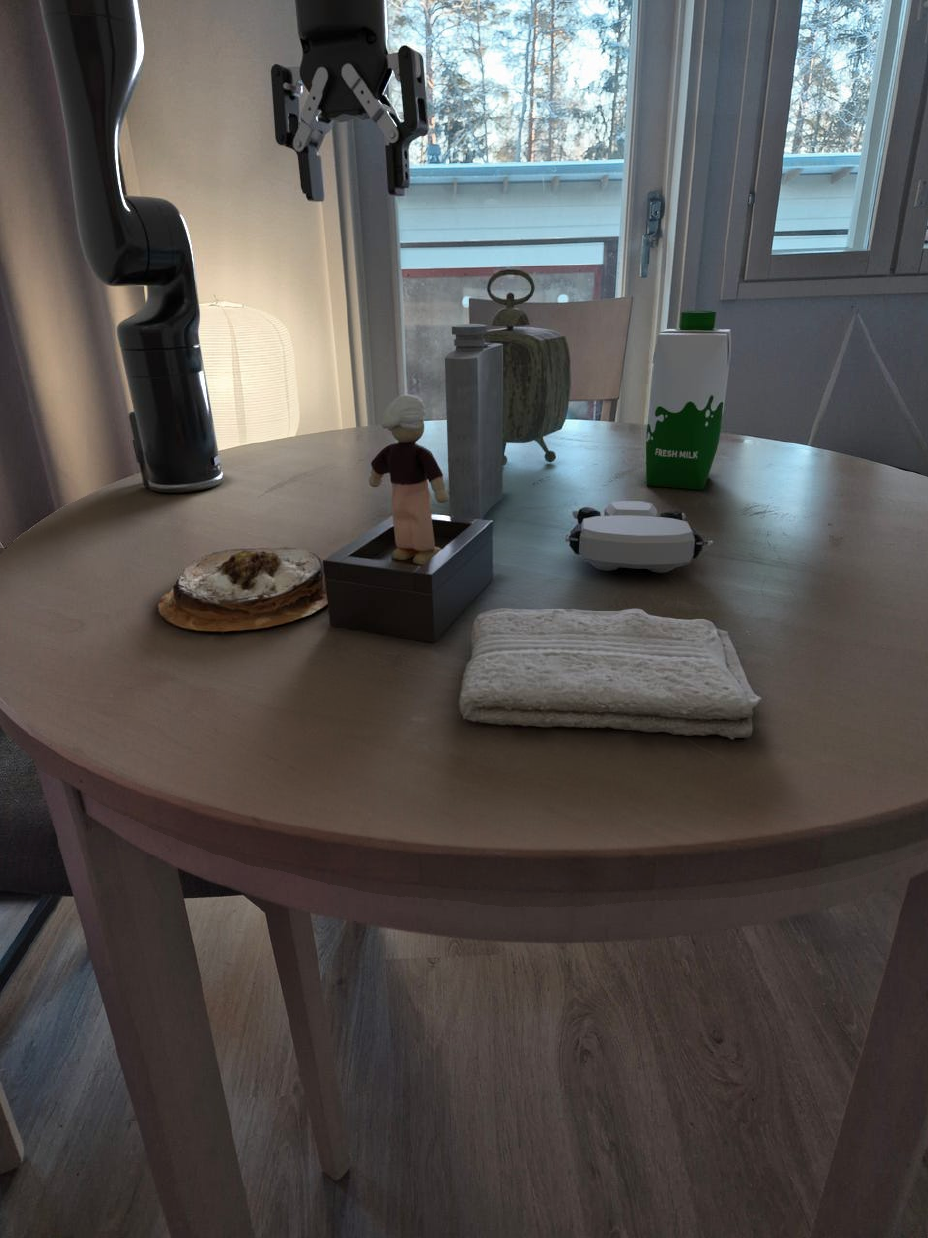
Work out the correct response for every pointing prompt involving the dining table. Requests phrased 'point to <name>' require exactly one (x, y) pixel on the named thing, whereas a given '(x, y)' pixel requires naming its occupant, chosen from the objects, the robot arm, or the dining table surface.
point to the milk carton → (687, 401)
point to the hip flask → (474, 422)
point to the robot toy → (634, 537)
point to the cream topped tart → (246, 590)
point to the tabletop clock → (530, 372)
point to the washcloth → (606, 673)
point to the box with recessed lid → (409, 579)
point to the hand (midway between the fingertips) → (355, 198)
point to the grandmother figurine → (409, 480)
